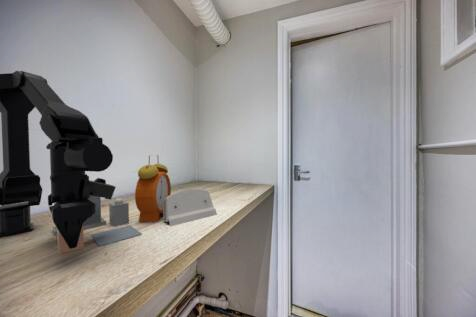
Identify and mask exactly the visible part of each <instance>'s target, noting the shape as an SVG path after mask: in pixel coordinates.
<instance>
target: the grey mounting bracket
mask: <svg viewBox="0 0 476 317" xmlns="http://www.w3.org/2000/svg"><path fill="white" fill-rule="evenodd" d="M216 215H217V210H216V208H215V207H214V205H213V201H212V198H211V194H210V193H209V191H208V190H206V189H201V188H200V189H198V188H191V189H183V190H180V191H176V192H173V193H172V194H171V195H170V196H168V197H166V198H165V199H164V200H163V214H162V216H163V218H162V219H163V220H162V222H163V223H167V222H168V223H169V227H173V226H177V225H181V224H185V223H189V222H192V221H196V220H197V221H198V220H200V219H204V218H209V217H212V216H216Z"/></svg>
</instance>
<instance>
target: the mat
mask: <svg viewBox="0 0 476 317" xmlns="http://www.w3.org/2000/svg"><path fill="white" fill-rule="evenodd" d="M141 235H143V234H142V232H140V231H139V230H137V229H136V228H135V227H133V226H132V225H131V224H128V225H125V226H120V227H117V228H115V227H114V228H112V229H108V230H103V231H98V232H95V233H91V235H90V236H91V237H92V238H93V240H94V241H95V242H96V244H97V245H98V246H99V247H103V246H106V245H110V244H113V243H118V242H120V241H124V240H127V239H131V238H134V237H138V236H141Z"/></svg>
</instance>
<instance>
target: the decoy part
mask: <svg viewBox="0 0 476 317" xmlns="http://www.w3.org/2000/svg"><path fill="white" fill-rule="evenodd" d="M129 204H130V203H129V202H127V201H125V200H124V199H123V198H120V197H119V198H115V199H114V202H110V203H109V204H108V205H109V207H108V208H109V214H108V215H109V225H111V226H112V228H115V227H118V225H120V226H123V224H124V225H127V223H128V224H129V222H130V220H129V219H130V213H129V210H130V209H129ZM114 226H115V227H114Z"/></svg>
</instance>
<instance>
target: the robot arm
mask: <svg viewBox="0 0 476 317" xmlns="http://www.w3.org/2000/svg"><path fill="white" fill-rule="evenodd" d="M35 108H36V109H37V111H38V113H39V114H40V115H41V117H40V121H39V126H40V128H41V131H42V132H43V133H44V134H45V136H46V137H48V139H49V140H50V142H49V143H48V144H47V145H46V146H45V148H46V150H49V161H50V175H49V180H50V194H49V195H48V196H47V206H48V208H49V211H50V213H51V219H52V223H53V224H54V225H55V227H57V229H58V230H59V232H60V233H61V235H62V237H63V238H64V240H65V242H66V243H67V245H68V247H69V248H70V249H72V248H76V247H77V244H78V240H79V236H80V233H81V229H82V226H83V223H84V222H85V221H86V220H87V219H88V218H89V217H91V216H92V215H93V214H95V213H96V212H95V204H94V203H93V202H92V201H90V200H89V199H87V198H90V195H91V196H97V197H101V198H104V199H105V200H112V198H113V196H114V193H115V190H116V188H117V187H116V185H112V184H108V183H107V181H106V179H104V178H100V177H97V178H96V179H95V180H90V176H89V175H88V174H86V172H96V173H98V172H99V173H100V172H102V171H103V172H104V171H105V170H107V169H108V168H110V166H111V165H112V163H113V158H114V156H113V155H114V154H113V153H112V150H111V149H110V148H109V146H107V145H106V144H104V143H103V137H100V136H98V134H97V133H96V130H95V129H94V127H93V125H92V123H91V122H90V119H89V118H88V116H87V115H86V114H84V113H83V112H82V111H80V110H78V109H75V108H73V107H71V106H69V105H67V104H66V103H65V102H64V101H63V99H61V97H59V95H58V94H57V93H56V92H55V91H54V90H53V89H52V87H51V86H50V85H49V84H48V80H47V79H46V78H45V77H43V76H41V75H39V74H36V73H30V72H27V71H24V70H20V71H19V70H16V71H14V72H8V73H0V116H1V139H2V140H1V142H2V143H1V144H2V145H1V146H2V168H3V170H2V171H1V172H0V237H5V236H9V235H10V236H11V235H15V234H20V233H26V232H31V231H34V223H33V222H32V220H31V219H32V217H31V207H33V206H40V204H41V200H42V195H43V187H42V185H41V177H40V176H39V174H36V173H35V172H33V170H32V169H31V158H30V157H31V156H30V154H31V153H30V152H31V151H30V135H29V134H30V132H29V130H30V128H29V125H30V124H29V114H30V113H31V112H32V111H34V109H35Z"/></svg>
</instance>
